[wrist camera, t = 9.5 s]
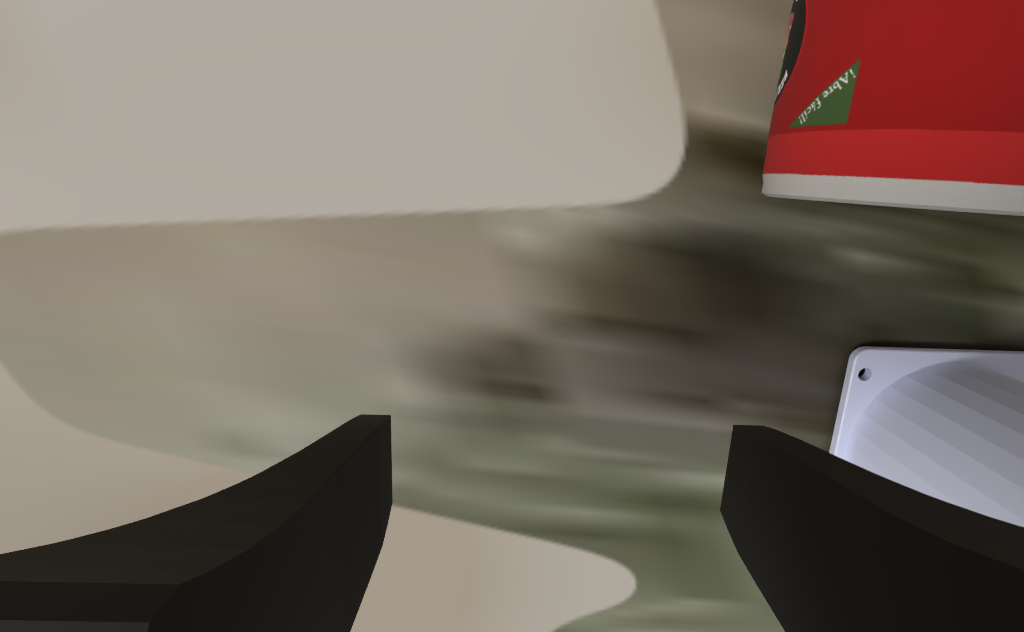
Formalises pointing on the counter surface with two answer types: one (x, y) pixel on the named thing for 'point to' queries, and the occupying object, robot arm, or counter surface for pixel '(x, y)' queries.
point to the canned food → (901, 105)
